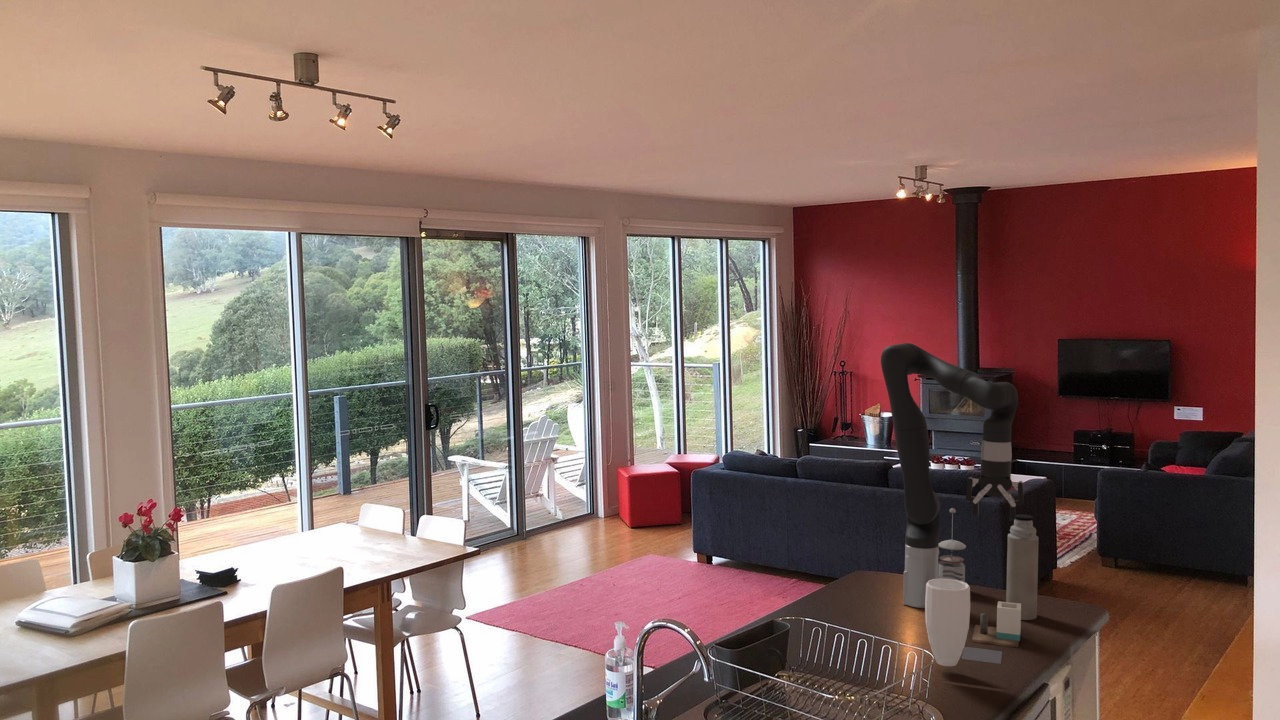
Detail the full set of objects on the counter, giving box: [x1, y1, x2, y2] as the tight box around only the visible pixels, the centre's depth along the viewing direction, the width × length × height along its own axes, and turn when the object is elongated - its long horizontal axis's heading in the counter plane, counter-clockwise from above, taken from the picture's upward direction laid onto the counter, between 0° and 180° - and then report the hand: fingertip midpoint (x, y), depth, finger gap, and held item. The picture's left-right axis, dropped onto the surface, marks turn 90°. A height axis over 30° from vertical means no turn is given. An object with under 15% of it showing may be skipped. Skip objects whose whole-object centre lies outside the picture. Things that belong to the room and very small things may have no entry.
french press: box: [938, 507, 967, 583], centre depth 296 cm, size 10×12×25 cm
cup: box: [924, 579, 971, 667], centre depth 229 cm, size 10×10×22 cm
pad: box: [960, 646, 1003, 665], centre depth 241 cm, size 9×9×1 cm
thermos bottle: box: [1005, 514, 1039, 621], centre depth 272 cm, size 8×8×28 cm
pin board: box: [971, 612, 1020, 648], centre depth 254 cm, size 11×12×6 cm
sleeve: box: [996, 600, 1022, 642], centre depth 252 cm, size 6×6×8 cm
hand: (993, 518), depth 260 cm, fingers open, 8 cm apart
